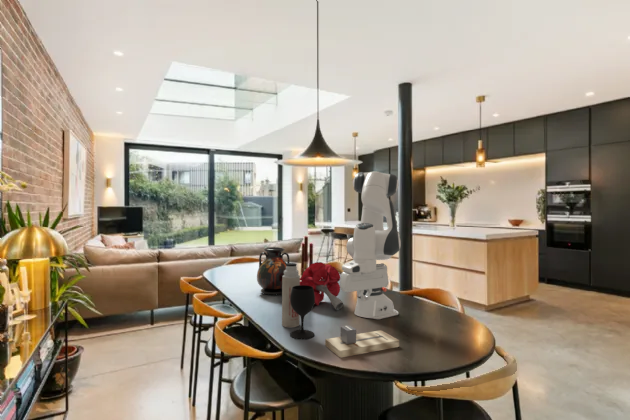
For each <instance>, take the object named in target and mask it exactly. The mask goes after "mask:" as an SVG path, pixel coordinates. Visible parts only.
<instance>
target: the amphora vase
mask: <svg viewBox="0 0 630 420" xmlns="http://www.w3.org/2000/svg"><path fill="white" fill-rule="evenodd" d="M263 251H264V252H263ZM263 251H262V252H260V254H259V259H258V270H257V274H256V282H257V284H258V285H259V286H260V288H261V289H260V293H261V294H262V295H264V296H265V295H266V296H282V276H283V275H284V271H285V270H286V264H287V263H290V255H289V253H288V252H284V251H285V248H283V247H279V246H277V247H276V246H273V247H272V246H271V247H264V249H263ZM263 255H265V258H264V260H263V261H262V257H263ZM284 256H286V258H287V261H286V260H285V259H284V258H283V257H284Z"/></svg>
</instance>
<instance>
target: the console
mask: <svg viewBox="0 0 630 420" xmlns="http://www.w3.org/2000/svg"><path fill="white" fill-rule="evenodd" d="M340 339H341V336H336V337H331V338H325V339H324V342H325V343H324V344H325V347H326V348H327V349H329V350H330V351H331V352H333V354H335V355H336V356H337V357H338V358H341V359H342V358H346V357H352V356H357V355H362V354H367V353H373V352H378V351H385V350H388V349H395V348H398V347H400V339H398V338H396V337H394V336H392V335H391V334H388V333H387V332H385V331H383V330H375V331H367V332H362V333H356V343H351V344H346V343H345V342H343V341H342V340H340Z"/></svg>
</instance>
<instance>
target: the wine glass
mask: <svg viewBox="0 0 630 420" xmlns="http://www.w3.org/2000/svg"><path fill="white" fill-rule="evenodd" d="M290 302H291V306H292V308H293V310H294V311H295V312H296V313H297V314H299V317H300V329H296V330H293V331H290V333H289V336H290V337H291V338H292V339H294V340H310V339H312V338H314V337H315V332H313V331H312V330H308V329H304V322H305V321H304V320H305V316H306V315H308V314H309V313H310V312H311V311H312V309H313V308H314V306H315V304H314V303H315V294H314V289H313V287H312V286H307V285H299V286H294V287H293V288H292V291H291V295H290Z"/></svg>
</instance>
